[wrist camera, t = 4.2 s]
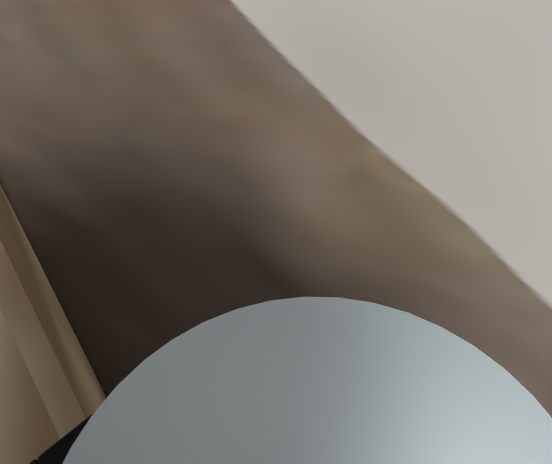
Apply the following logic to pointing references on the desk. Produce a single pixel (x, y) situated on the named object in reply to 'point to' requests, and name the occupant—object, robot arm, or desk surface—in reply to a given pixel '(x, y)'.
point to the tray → (36, 354)
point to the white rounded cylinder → (317, 394)
